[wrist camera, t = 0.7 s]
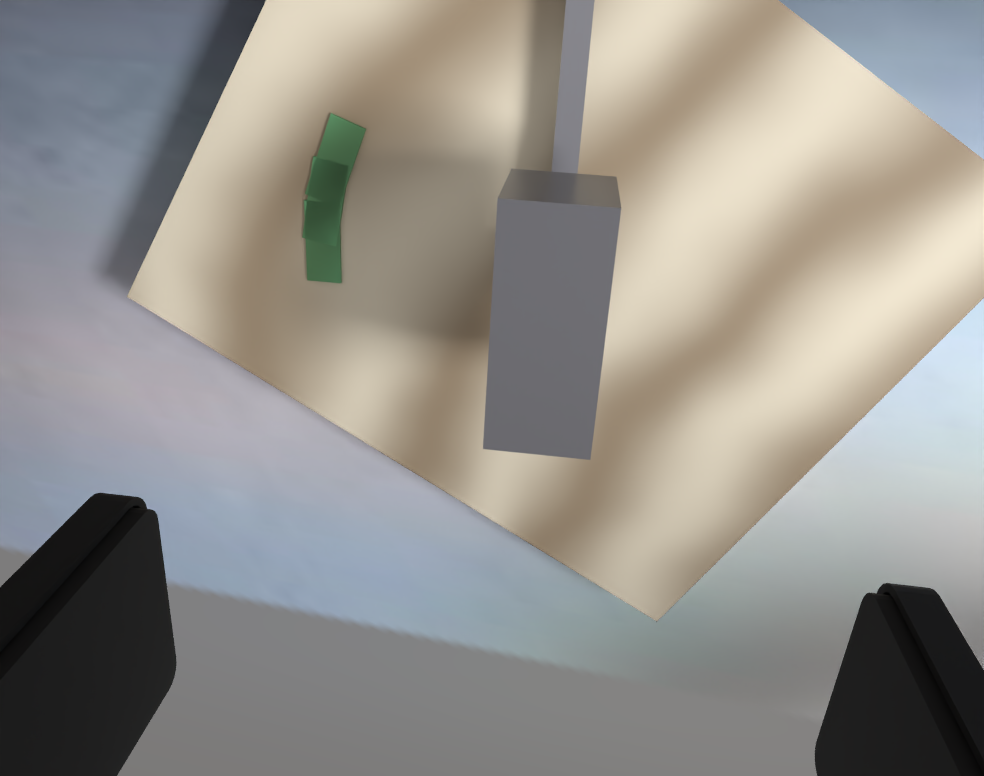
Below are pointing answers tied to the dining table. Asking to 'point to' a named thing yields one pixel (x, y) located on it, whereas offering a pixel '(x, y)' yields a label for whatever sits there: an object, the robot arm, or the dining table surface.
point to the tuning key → (552, 282)
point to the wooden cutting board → (638, 262)
